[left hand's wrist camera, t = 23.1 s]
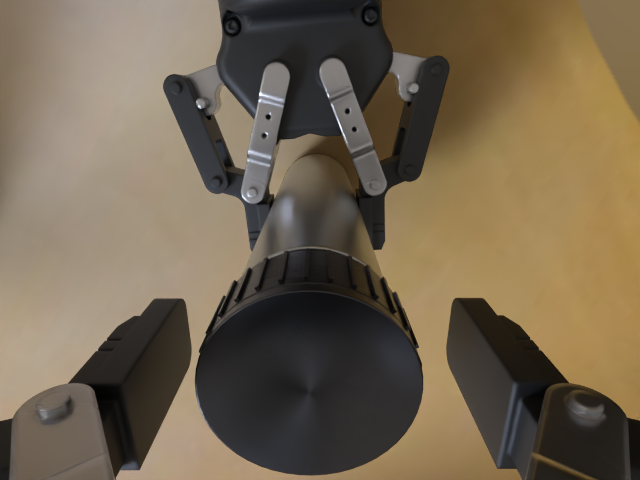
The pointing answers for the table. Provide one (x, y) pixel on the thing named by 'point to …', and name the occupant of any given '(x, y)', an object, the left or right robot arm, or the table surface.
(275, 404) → the lid
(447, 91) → the table surface
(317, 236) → the metal thermos bottle
